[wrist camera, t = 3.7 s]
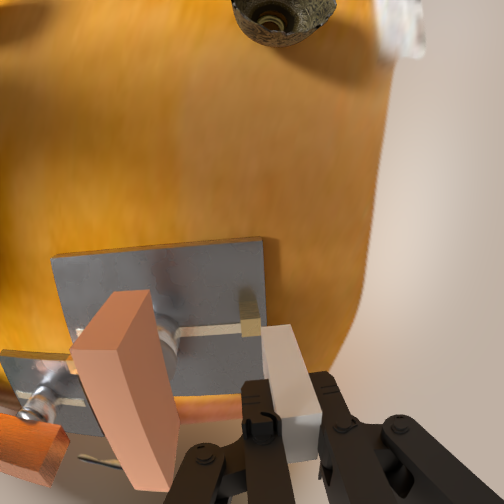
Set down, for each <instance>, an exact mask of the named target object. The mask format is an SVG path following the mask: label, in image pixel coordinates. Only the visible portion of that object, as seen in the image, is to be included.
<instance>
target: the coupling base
mask: <svg viewBox="0 0 504 504" xmlns="http://www.w3.org/2000/svg"><path fill="white" fill-rule="evenodd" d="M50 260H51V265H52V270H53V274H54V278H55V283H56V287H57V291H58V295H59V298H60V302H61V306H62V309H63V313H64V317H65V320H66V323H67V327H68V330H69V333H70V336H71V339H72V342H73V344H74V342H75V341H76V340H77V338H78V337H79V336H80V334H81V333H82V332H83V330H84V329H85V328H86V326H87V325H88V324H89V322H90V321H91V320H92V318H93V317H94V316H95V315H96V313H97V312H98V311H99V309H100V308H101V307H102V306H103V304H104V303H105V302H106V301H107V299H108V298H109V297H110V296H111V294H112V293H113V292H115V291H132V290H149V289H150V294H151V299H152V305H153V310H154V315H155V320H156V325H157V330H158V335H159V339H161V340H163V341H164V342H166V343H167V344H168V345H169V346H170V347H171V348H172V349H173V350H174V352H175V354H176V357H177V367H176V371H175V375H174V377H173V379H172V380H171V381H170V386H171V390H172V394H173V396H201V395H221V394H236V393H241V388H242V386H243V384H244V382H245V381H249V380H260V379H264V373H263V359H262V341H261V327H266V326H267V317H266V297H265V277H264V258H263V240H262V238H261V237H248V238H236V239H223V240H210V241H198V242H186V243H174V244H163V245H151V246H140V247H128V248H117V249H106V250H96V251H85V252H75V253H64V254H57V255H55V256H53V257H52V258H50ZM66 362H67V365H68V368H69V370H70V373H71V374H78V372H77V369H76V367H75V364H74V361H73V358H72V356H71V354H70V355H69V356H68V358H67V359H66Z"/></svg>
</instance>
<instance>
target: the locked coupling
mask: <svg viewBox="0 0 504 504" xmlns="http://www.w3.org/2000/svg"><path fill="white" fill-rule="evenodd" d="M69 355H70V354H56V353H39V352H26V351H14V350H2V351H1V352H0V363H1V365H2V367H3V369H4V372H5V374H6V376H7V378H8V380H9V382H10V384H11V386H12V389H13V391H14V393H15V395H16V397H17V398H18V400H19V402H20V404H21V406H22V408H21V409H20V410H19V411H18V413H17V414H16V416H11V415H7V414H3V413H0V472H3V473H5V474H8V475H11V476H14V477H17V478H20V479H23V480H26V481H29V482H32V483H35V484H39V485H42V486H46V487H49V488H50V487H51V486H52V483H53V481H54V478H55V476H56V473H57V471H58V469H59V466H60V464H61V462H62V459H63V457H64V455H65V452H66V450H67V448H68V446H69V443H70V440H69V438H68V436H67V435H66V433H65V432H70V433H76V434H83V435H91V436H100V437H104V436H105V434H104V432H103V430H102V428H101V426H100V423H99V421H98V419H97V417H96V415H95V413H94V410H93V408H92V406H91V404H90V401H89V399H88V397H87V394H86V392H85V390H84V387H83V385H82V382H81V380H80V377H79V374H71V373H70V370H69V368H68V365H67V362H66V359H67V358H68V356H69Z"/></svg>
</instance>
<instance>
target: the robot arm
mask: <svg viewBox="0 0 504 504" xmlns="http://www.w3.org/2000/svg"><path fill="white" fill-rule="evenodd" d="M261 341H262V359H263V373H264V379H260V380H249V381H245V382H244V384H243V386H242V388H241V397H242V414H243V420H242V432H243V434H242V436H241V437H240V438H239V440H237V441H236V442H234V443H232V444H230V445H227V446H224V447H221V448H220V447H219V446H217V445H215V444H211V443H201V444H197V445H194V446H193V447H191V448H190V449H189V450H188V451H187V453H186V455H185V457H184V459H183V461H182V464H181V466H180V468H179V470H178V472H177V474H176V477H175V479H174V481H173V483H172V485H171V488H170V490H169V492H168V494H167V496H166V499H165V501H164V503H163V504H230V503H231V500H232V496H233V495H237V494H240V493H243V492H246V491H247V494H248V504H295V499H294V494H293V489H292V484H291V479H290V474H289V469H288V463H296V462H302V461H308V460H314V459H317V456H318V453H319V456H320V460H321V461H320V468H319V475H318V476H319V477H318V479H319V480H320V479H321V478H323V482H324V485H325V489H326V493H327V496H328V500H329V503H330V504H504V500H503V499H502V498H500V497H499V496H498V495H497V494H496V493H495V492H494V491H493V490H491V489H490V488H489V487H488V486H487V485H486V484H485V483H484V482H482V481H481V480H480V479H479V478H478V477H477V476H476V475H475V474H473V473H472V472H471V471H470V470H469V469H468V468H467V467H466V466H464V465H463V464H462V463H461V462H460V461H459V460H458V459H457V458H456V457H455V456H454V455H452V454H451V453H450V452H449V451H448V450H447V449H446V448H445V447H444V446H442V445H441V444H440V443H439V442H438V441H437V440H436V439H435V438H434V437H433V436H431V435H430V434H429V433H428V432H427V431H426V430H425V429H424V428H423V427H422V426H421V425H419V424H418V423H417V422H416V421H415V420H414V419H413V418H411V417H409V416H406V415H393V416H390V417H389V418H387V419H386V420H385V422H384V423H383V424H365V423H362V422H360V421H359V420H358V419H357V418H356V417H354V416H353V415H351V414H350V412H349V409H348V407H347V405H346V403H345V401H344V399H343V396H342V394H341V392H340V390H339V387H338V386H337V383H336V381H335V379H334V377H333V376H332V375H331V374H329V373H328V372H327V371H322V372H315V373H308V371H307V368H306V366H305V363H304V360H303V357H302V355H301V352H300V349H299V346H298V344H297V341H296V338H295V335H294V333H293V330H292V327H291V324H287V325H277V326H266V327H261Z"/></svg>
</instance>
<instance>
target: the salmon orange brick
mask: <svg viewBox="0 0 504 504" xmlns="http://www.w3.org/2000/svg"><path fill="white" fill-rule="evenodd" d="M69 350H70V353H71V356H72V358H73V361H74V364H75V367H76V369H77V372H78V374H79V377H80V380H81V382H82V385H83V387H84V390H85V392H86V394H87V397H88V399H89V401H90V404H91V406H92V408H93V410H94V413H95V415H96V417H97V419H98V421H99V423H100V426H101V428H102V430H103V432H104V434H105V436H106V438H107V440H108V442H109V444H110V446H111V448H112V450H113V451H114V453H115V455H116V457H117V459H118V461H119V463H120V464H121V466H122V468H123V470H124V471H125V473H126V475H127V477H128V478H129V480H130V482H131V483H132V485H133V487H134V488H135V490H144V491H158V492H169V490H170V488H171V485H172V483H173V473H174V465H175V458H176V449H177V442H178V435H179V427H180V419H179V416H178V412H177V408H176V405H175V401H174V397H173V394H172V390H171V386H170V381H171V380H172V379H173V377H174V375H175V371H176V367H177V357H176V354H175V352H174V350H173V349H172V348H171V347H170V346H169V345H168V344H167V343H166V342H164V341H163V340H161V339H159V335H158V330H157V325H156V320H155V315H154V310H153V305H152V299H151V294H150V289H149V290H132V291H115V292H113V293H112V294H111V296H110V297H109V298H108V299H107V301H106V302H105V303H104V304H103V306H102V307H101V308H100V309H99V311H98V312H97V313H96V315H95V316H94V317H93V318H92V320H91V321H90V322H89V324H88V325H87V326H86V328H85V329H84V330H83V332H82V333H81V334H80V336H79V337H78V338H77V340H76V341H75V342H74V344H73V345H72V346H71V348H70V349H69Z"/></svg>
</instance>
